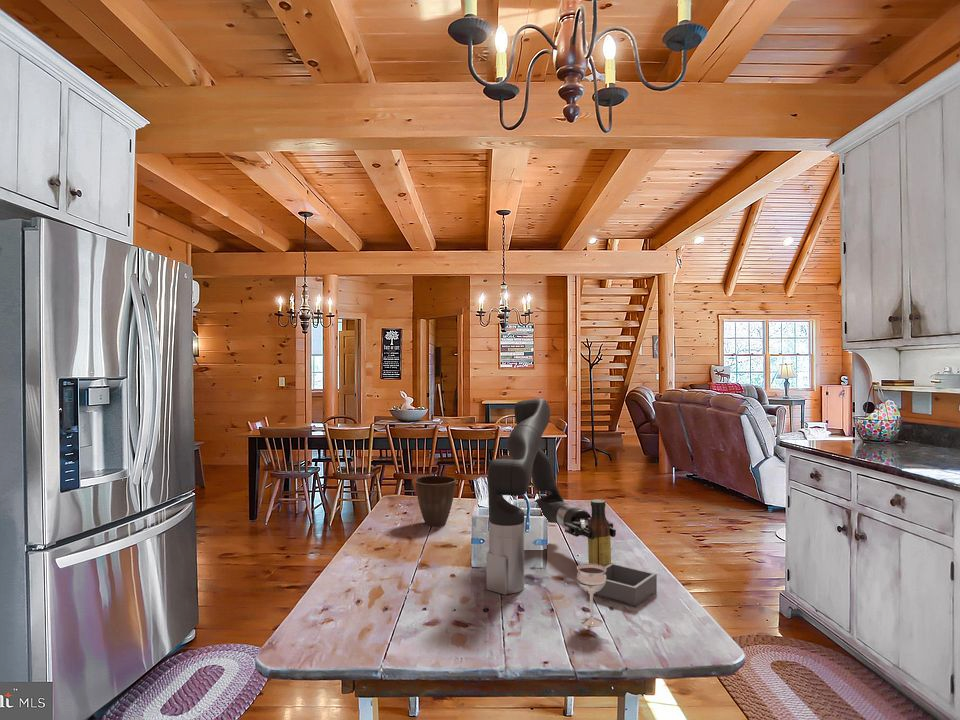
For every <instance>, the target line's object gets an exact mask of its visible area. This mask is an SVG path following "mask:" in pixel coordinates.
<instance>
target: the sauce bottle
mask: <svg viewBox="0 0 960 720" xmlns="http://www.w3.org/2000/svg"><path fill="white" fill-rule="evenodd" d="M606 504H607V503H606V501H605V500H604V499H599V498H598V499H592V500H590V506H591V514H590V516H591V519H590V520H589V522H588V529H590V530H592V531H594V539H589V538H588V537H587V548H588V549H587V553H588V556H587V557H588V559H587V560H588V564H597V565H601V566H603V567H606V566H607V565H609V564H611V563H612V550H611V549H612V548H611V544H612V543H611V536H610V525H609V523H608V521H609V520H608V519H607V517H606ZM607 520H608V521H607Z"/></svg>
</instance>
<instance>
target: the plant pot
mask: <svg viewBox="0 0 960 720" xmlns="http://www.w3.org/2000/svg"><path fill="white" fill-rule="evenodd" d="M456 483H457V479H456V478H455V477H453V476H450V475H449V476H447V475H428V476H422V477H421V476H420V477H417V478H416V479H414V484H415V490H416V496H417V497H416V498H417V502H418V505H419V509H420V514H421V516H422V518H423V522H424V524H425V525H426V526H429V527H442V526H445V525H446V524H447V521H448V519H449V516H450V512H451V510H452V505H453V502H454V497H455V492H456Z"/></svg>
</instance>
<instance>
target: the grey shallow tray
mask: <svg viewBox="0 0 960 720" xmlns="http://www.w3.org/2000/svg"><path fill="white" fill-rule="evenodd" d="M605 568H606V572H605V574H606V577H607V581H606V584H605V586H604V587H603V588H602V589H601V590H600V591H598V592H595V594H593V597H598V598H601V599H604V600H608V601H612V602H615V603H619V604H623V605H625V606H629V607H632V608H636V607H638V606H639V605H641V604H642V603H643V602H645V601H647V600H648V599H649V598H650V597H652V596H653V595H654V594H655V593H657V591H658V590H657V587H658V585H657V582H658V581H657V580H658V579H657V577H658V574H657V573H655V572H651V571H646V570H642V569H639V568H636V567H635V568H634V567H630V566H626V565H621V564H619V563H618V564H617V563H613V562H611V564H609V565H607V566H606V567H605Z"/></svg>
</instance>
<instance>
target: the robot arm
mask: <svg viewBox="0 0 960 720" xmlns="http://www.w3.org/2000/svg"><path fill="white" fill-rule="evenodd" d="M513 411H514V418H515V423H516V425H515V426H514V427H513V428H512V429H511V431H510V434H509V436H508V438H507V440H506V441H507V442H506V448H507V449H506V450H507V451H508V452H507V453H508V454H509V456H510V457H511V458H512V459H506V458H494V459H492V460H491V461H489V464H488V468H487V493H488V494H487V495H488V496H487V497H488V552H487V553H486V590H488V591H490V592H491V591H492V592H495V593H498V594H501V595H504V596H506V595H508V594H516V593H520V592H521V591H523V590H524V589H525V512H524V510H523V509H522V508H520V507H518V506H516V505H514V504H513V503H510V502H509V501H508V500H506V498H505V497H504V496H509V497H510V496H513V497H520V496H524V495H525V494H527V492H528V490H529V488H530V484H531V479H532V484H533V488H534V489H535V490H536V491H538V492H548V495H546V496H542V497H539V498H537V499H536V500H534V502H537V503H538V504H539V506H540V508H541V510H542V513H543V515H544V516H545V517H546V518H547V520H548V522H547V523H550V524H551V523H553V524H556V525H559V526H561V528H563V529H564V532H565V533H567V534H569V535H572V536H574V537H580V536H581V537H583V538H585V537H586V538H587V539H588V538H589V539H594V531H592V530H590V529H588V522H589V520H590V519H591V517H592V515H591V514H590V513H589V512H588V511H586V510H584V509H582V508H580V507H578V506H575V505H571V504H569V503H567V502H565V501H564V499H563V497H562V495H561V493H560V490H559V488H558V486H557V483H556V481H555V480H556V479H555V474H554V472H553V466H552V463H551V460H550V459H549V457H548V455H547V454H546V453H545V452H544V451H543V450H542V448H541V447H540V445H541V442H542V436H543V434H544V432H545V431H546V429H547V427H548V424H549V422H550V420H551V409H550V405H549V403H548V402H547V400H545V399H544V398H538V397H537V398H532V399H531V398H530V399H526V400H525V399H524V400H520V401H517V402H516V403H515V404H514V410H513ZM607 521H608V523H609V525H610V538H611V537H612V538H615V537H616V535H617V533H616V531H617V530H616V529H615V528H614V523H613V522H612V521H609V520H608V519H607Z"/></svg>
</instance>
